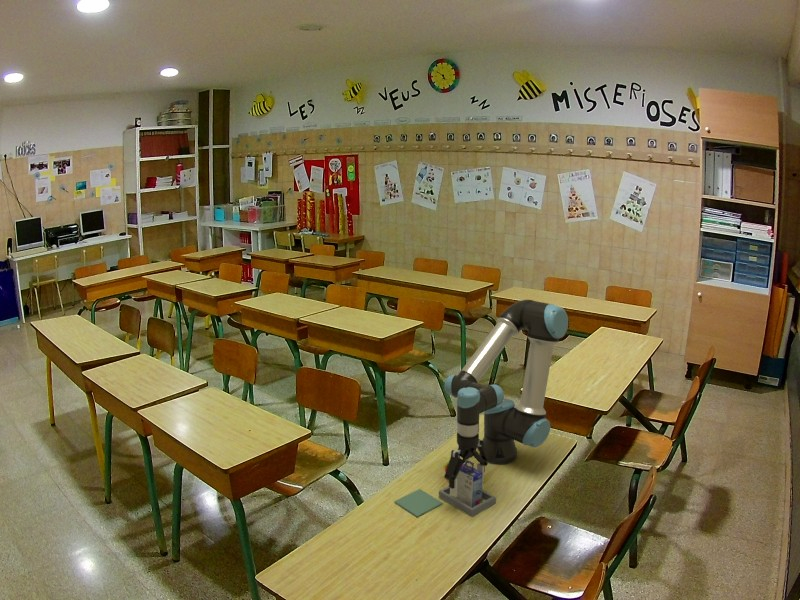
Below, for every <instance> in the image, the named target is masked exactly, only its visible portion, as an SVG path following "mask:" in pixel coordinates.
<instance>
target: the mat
mask: <svg viewBox="0 0 800 600" xmlns="http://www.w3.org/2000/svg"><path fill="white" fill-rule="evenodd" d="M394 504H395V505H397V506H398V507H401V508H402V509H404V510H405V511H407V512H408V513H409V514H411V515H412V516H414V517H415V518H419V517H421V516H423V515H426V514H427V513H429V512H431V511H432V510H434V509H436V508H438V507H440V506H443V504H444V502H442V501H441V500H439V499H437V498H436V497H434V496H432V495H431V494H429V493H427V492H426V491H424V490H422V489H421V488H418V489H415V490H414V491H412V492H410V493H408V494H406V495H404V496H402V497H400V498H399V499H396V500H394Z"/></svg>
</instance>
